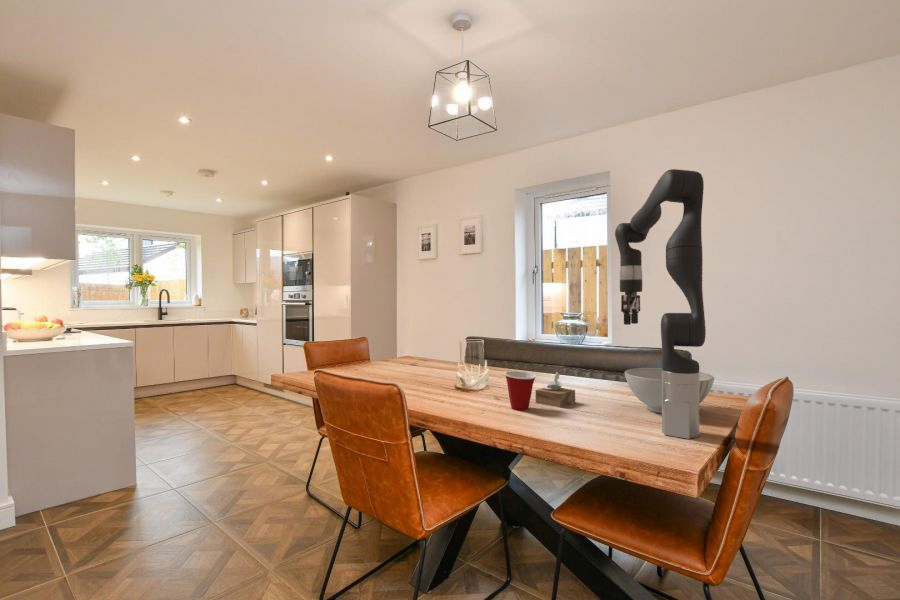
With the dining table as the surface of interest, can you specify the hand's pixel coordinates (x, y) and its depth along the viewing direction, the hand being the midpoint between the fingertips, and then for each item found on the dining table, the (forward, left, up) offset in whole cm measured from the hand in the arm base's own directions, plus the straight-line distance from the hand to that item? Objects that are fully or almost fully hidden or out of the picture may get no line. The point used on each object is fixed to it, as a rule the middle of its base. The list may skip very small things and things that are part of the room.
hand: (631, 324), depth 162 cm
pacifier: (-16, +23, -24) cm, 36 cm away
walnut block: (-17, +21, -28) cm, 39 cm away
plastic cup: (-32, +27, -28) cm, 51 cm away
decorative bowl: (-4, -13, -28) cm, 31 cm away
